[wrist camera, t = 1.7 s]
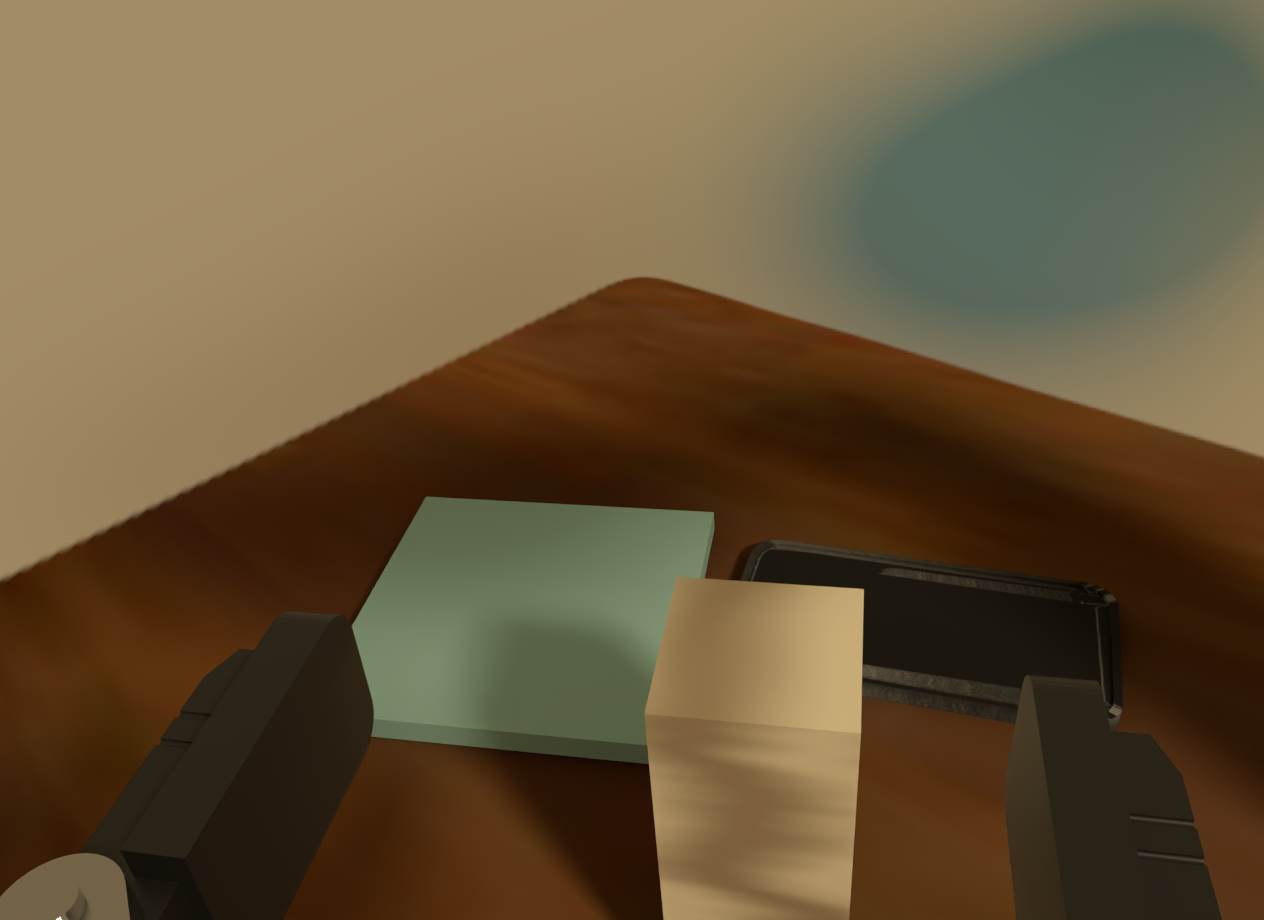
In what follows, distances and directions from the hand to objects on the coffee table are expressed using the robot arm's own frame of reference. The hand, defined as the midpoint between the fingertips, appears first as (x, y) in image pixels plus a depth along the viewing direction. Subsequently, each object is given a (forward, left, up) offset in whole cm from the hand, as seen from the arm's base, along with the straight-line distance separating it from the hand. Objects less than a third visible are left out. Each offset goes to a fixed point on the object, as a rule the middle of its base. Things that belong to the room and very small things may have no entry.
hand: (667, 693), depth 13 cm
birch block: (0, -11, -22) cm, 24 cm away
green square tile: (+11, -24, -22) cm, 34 cm away
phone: (-5, -25, -22) cm, 34 cm away
